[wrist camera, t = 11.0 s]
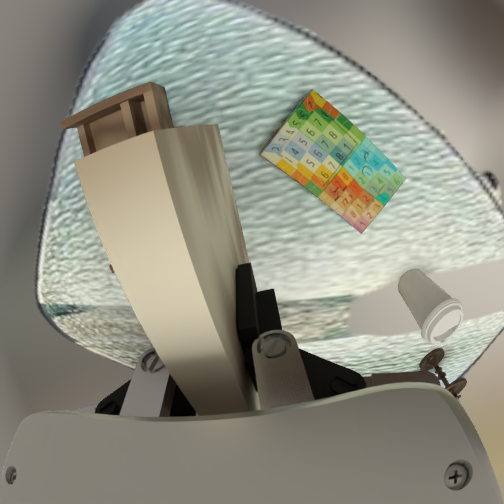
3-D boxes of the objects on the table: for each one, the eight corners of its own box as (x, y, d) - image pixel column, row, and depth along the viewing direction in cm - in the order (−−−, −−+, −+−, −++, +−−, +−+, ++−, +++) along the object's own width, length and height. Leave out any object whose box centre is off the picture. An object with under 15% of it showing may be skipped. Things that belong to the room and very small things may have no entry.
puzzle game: (363, 236, 41) (261, 155, 34) (352, 224, 45) (258, 151, 39) (408, 180, 37) (314, 88, 30) (394, 173, 41) (305, 91, 35)
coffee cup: (385, 300, 52) (417, 349, 39) (401, 260, 48) (443, 305, 35) (417, 301, 54) (450, 345, 40) (433, 264, 49) (474, 305, 36)
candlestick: (411, 374, 68) (454, 464, 36) (424, 350, 63) (477, 446, 32) (437, 366, 68) (481, 448, 37) (450, 342, 63) (503, 428, 32)
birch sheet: (259, 303, 22) (279, 471, 10) (240, 306, 22) (248, 475, 10) (217, 124, 16) (153, 130, 4) (194, 129, 16) (74, 162, 4)
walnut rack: (202, 234, 44) (196, 255, 38) (126, 252, 44) (112, 272, 38) (164, 87, 33) (150, 81, 27) (84, 119, 34) (61, 121, 27)
